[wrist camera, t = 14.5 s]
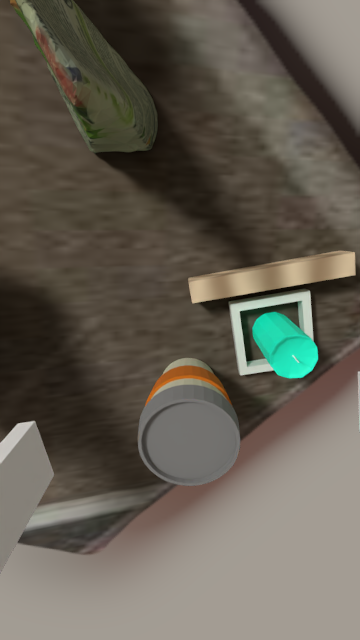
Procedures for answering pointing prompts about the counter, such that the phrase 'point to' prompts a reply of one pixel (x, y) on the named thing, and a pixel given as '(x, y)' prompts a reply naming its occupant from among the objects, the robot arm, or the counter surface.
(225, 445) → the reusable coffee cup
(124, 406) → the counter surface
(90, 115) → the pouch
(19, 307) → the counter surface
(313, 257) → the edge strip
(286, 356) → the candle
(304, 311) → the frame
